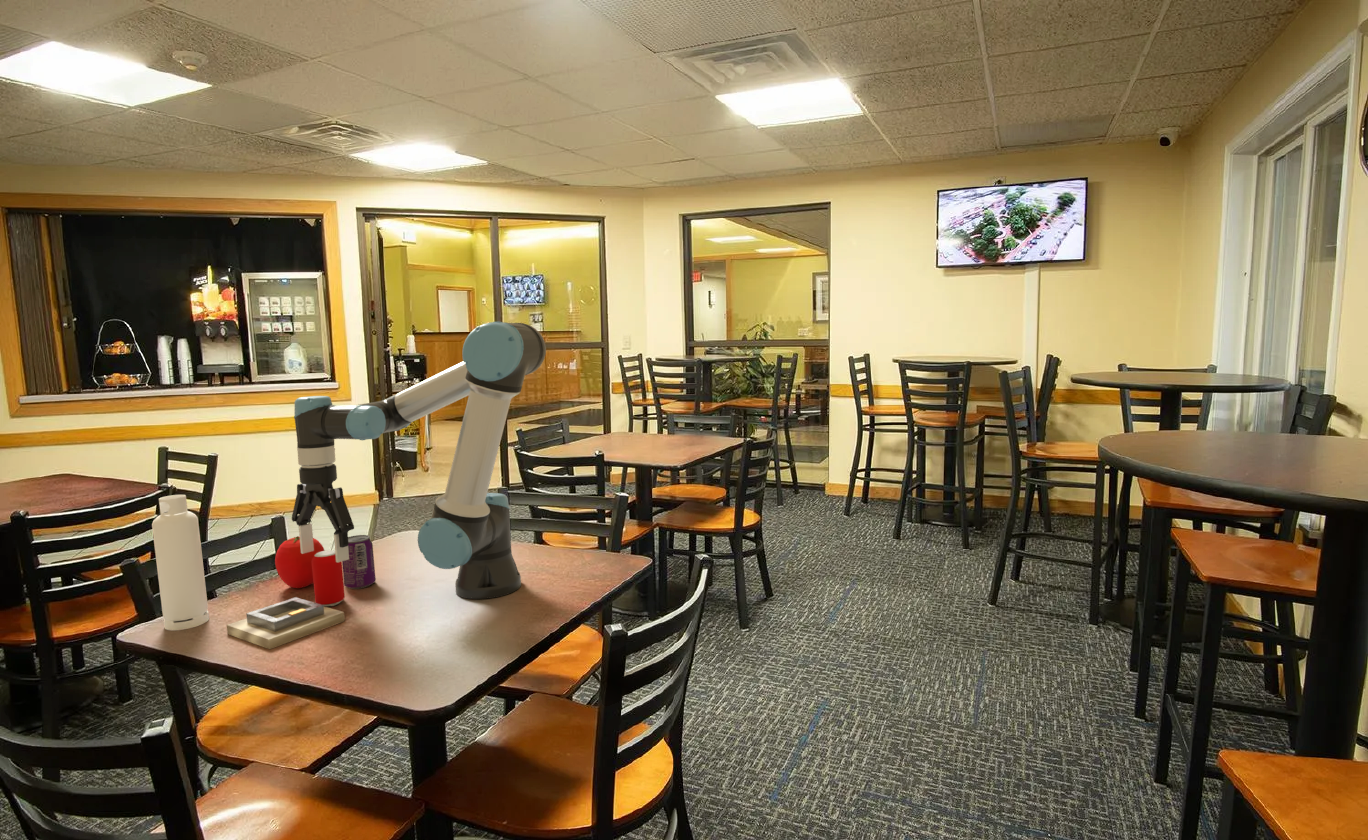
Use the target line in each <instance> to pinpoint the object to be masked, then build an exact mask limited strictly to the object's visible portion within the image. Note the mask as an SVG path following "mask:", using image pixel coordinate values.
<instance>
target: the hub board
mask: <svg viewBox="0 0 1368 840" xmlns="http://www.w3.org/2000/svg"><path fill="white" fill-rule="evenodd" d="M293 611H296V610H294V609H293V610H290V611H287V612H285V613H282V614H279V615H276V616H273V617H274V618H280V617H283V616H286V615H288V613H291V612H293ZM343 622H345V612H344V611H341V610H338V609H335V608H331V607H324V614H323V615H321V616H318V617H315V618H312V619H309V620H307V621H304V622H301V623H298V624H296V625H293V626H290V627H287V628H285V629H282V630H279V631H276V632H274V631H271V630H268V629H265V628H262V627H259V626H256V625H253V624H250V623H247V617H246V618H243V619H240V620H237V621H234V622H231V623H228V624H226V633H227V635H229V636H232V637H235V638H238V639H240V640H242V641H244V642H245V641H246V642H247V643H248V642H249V643H250V644H254V645H257V646H260V647H263V648H265V649H267V650H272V649H274V648H278V647H279V646H282V645H285V644H288V643H290V642H293V641H295V640H298V639H300V638H303V637H306V636H309V635H312V634H314V633H317V632H320V631H322V630H325V629H327V628H329V627H333V626H335V625H338V624H340V623H343Z"/></svg>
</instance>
